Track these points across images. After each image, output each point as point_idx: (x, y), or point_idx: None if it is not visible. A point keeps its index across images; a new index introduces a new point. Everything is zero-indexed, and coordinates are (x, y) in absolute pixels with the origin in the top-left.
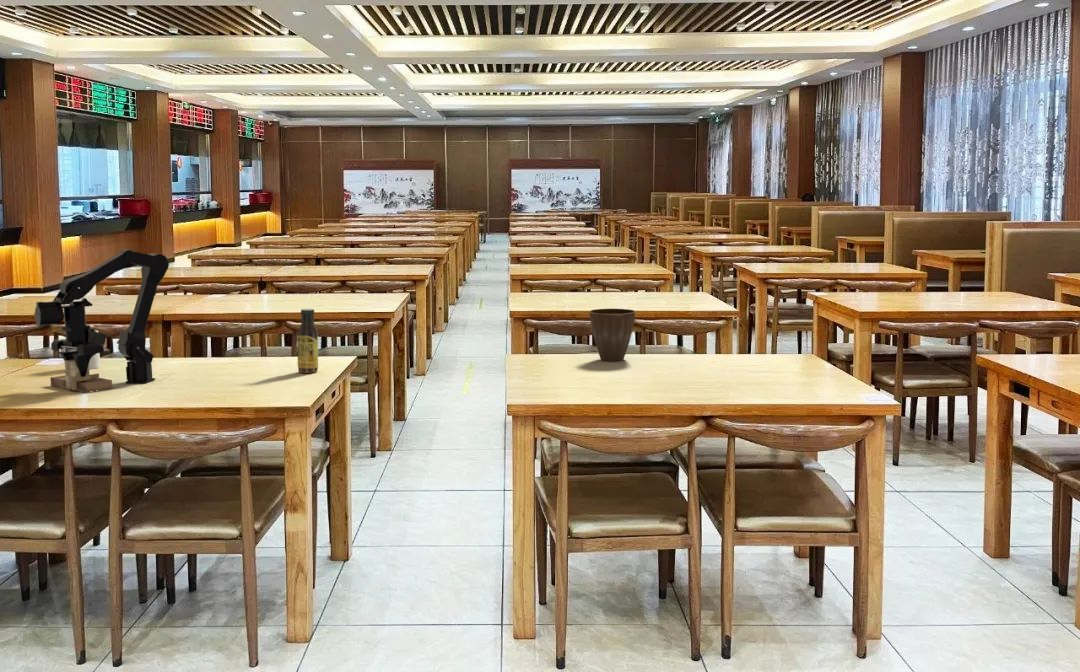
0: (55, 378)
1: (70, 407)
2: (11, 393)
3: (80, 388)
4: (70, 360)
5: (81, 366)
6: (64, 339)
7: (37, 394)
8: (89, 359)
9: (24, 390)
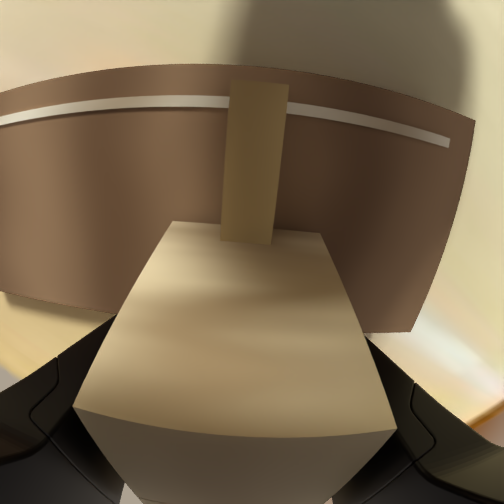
0: (1, 290)
1: (475, 415)
2: None
3: None
4: (172, 501)
5: None
6: None
7: None
8: (477, 446)
9: (41, 366)
